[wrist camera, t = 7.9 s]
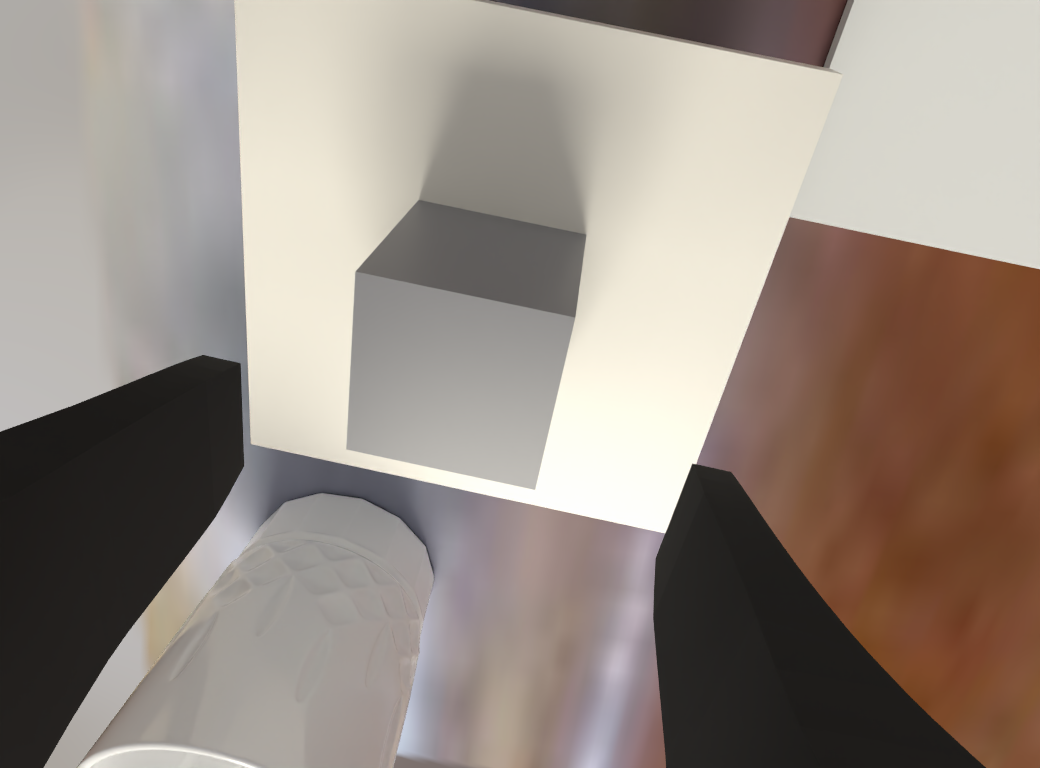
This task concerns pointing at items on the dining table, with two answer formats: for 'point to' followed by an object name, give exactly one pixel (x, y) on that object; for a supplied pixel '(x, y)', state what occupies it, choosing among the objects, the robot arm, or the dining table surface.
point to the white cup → (288, 651)
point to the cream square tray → (933, 127)
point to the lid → (506, 241)
